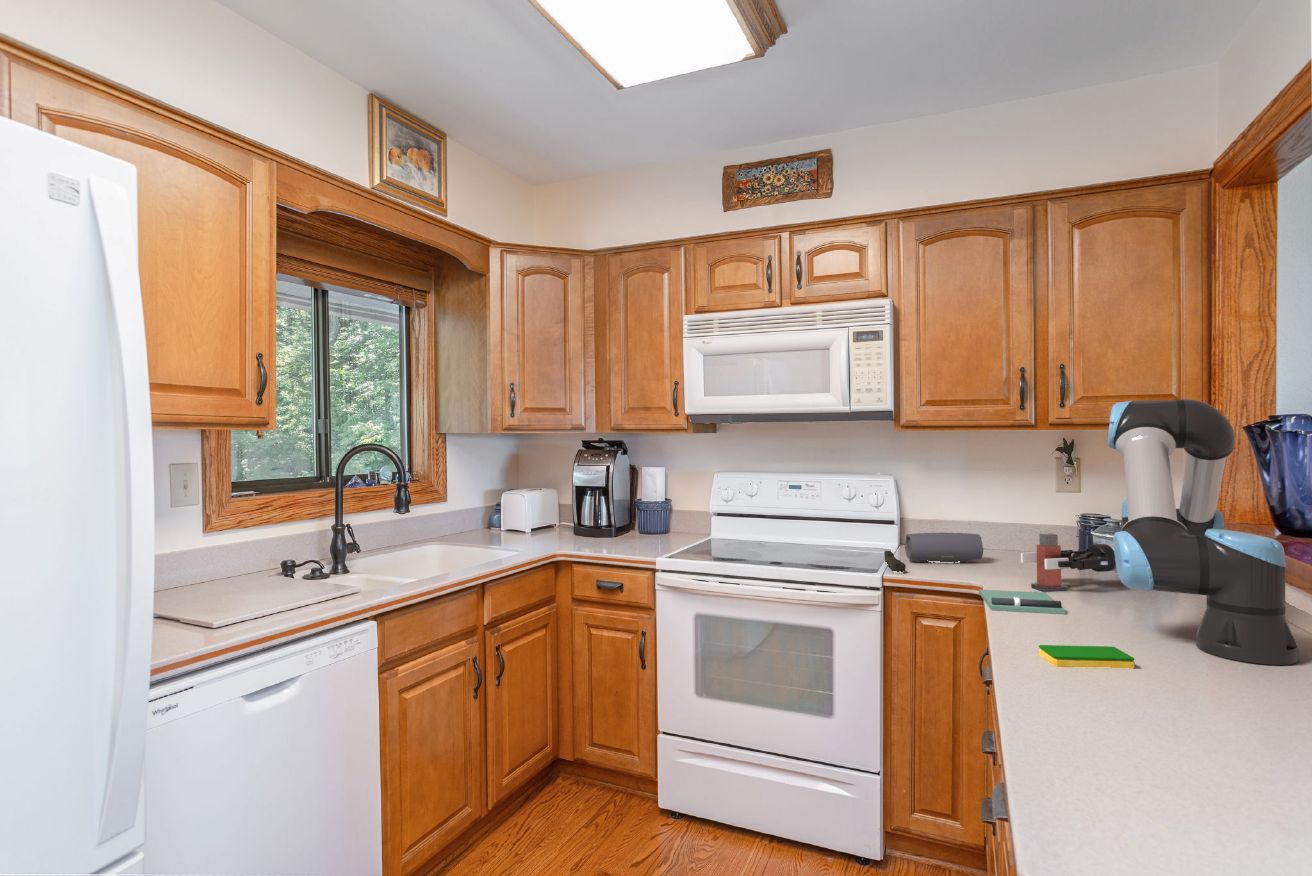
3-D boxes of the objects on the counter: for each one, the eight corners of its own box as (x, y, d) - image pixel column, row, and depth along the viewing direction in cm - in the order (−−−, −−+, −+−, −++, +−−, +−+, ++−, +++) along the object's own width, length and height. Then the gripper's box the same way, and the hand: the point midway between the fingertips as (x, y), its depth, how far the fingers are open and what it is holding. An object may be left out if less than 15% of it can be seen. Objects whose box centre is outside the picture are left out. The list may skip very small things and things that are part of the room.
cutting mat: (1065, 614, 161) (1065, 601, 161) (991, 610, 166) (991, 598, 166) (1045, 596, 178) (1045, 585, 178) (978, 593, 183) (978, 582, 183)
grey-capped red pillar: (1067, 590, 184) (1066, 535, 184) (1044, 592, 183) (1043, 536, 183) (1053, 586, 189) (1053, 532, 189) (1031, 588, 188) (1030, 533, 188)
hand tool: (905, 575, 209) (905, 559, 209) (892, 574, 209) (892, 559, 209) (895, 563, 227) (895, 549, 227) (882, 563, 228) (882, 549, 228)
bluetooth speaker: (973, 560, 230) (973, 530, 230) (984, 565, 220) (983, 534, 220) (904, 559, 232) (904, 530, 232) (912, 565, 223) (911, 534, 223)
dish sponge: (1135, 671, 124) (1135, 658, 124) (1054, 669, 126) (1054, 656, 126) (1114, 658, 131) (1114, 646, 131) (1038, 656, 133) (1038, 644, 133)
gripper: (1140, 579, 178) (1062, 583, 175) (1078, 563, 199) (1007, 567, 196) (1139, 550, 178) (1062, 554, 175) (1077, 538, 199) (1007, 541, 196)
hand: (1033, 561), depth 185 cm, fingers open, 9 cm apart
